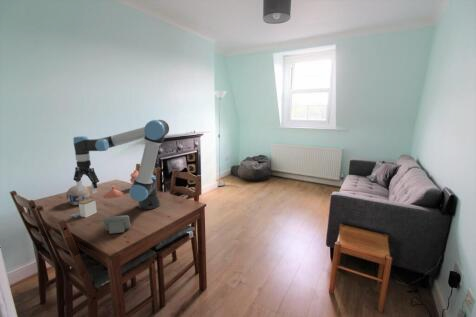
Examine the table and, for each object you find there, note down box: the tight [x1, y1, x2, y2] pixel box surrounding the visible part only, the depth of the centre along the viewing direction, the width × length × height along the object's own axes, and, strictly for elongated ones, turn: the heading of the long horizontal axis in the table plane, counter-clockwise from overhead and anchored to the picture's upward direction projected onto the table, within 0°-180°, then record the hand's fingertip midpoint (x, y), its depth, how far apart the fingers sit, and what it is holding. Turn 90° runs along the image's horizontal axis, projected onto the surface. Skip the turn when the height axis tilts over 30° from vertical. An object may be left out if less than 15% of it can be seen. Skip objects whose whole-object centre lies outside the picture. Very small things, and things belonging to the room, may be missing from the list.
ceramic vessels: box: [102, 169, 139, 199], centre depth 195 cm, size 35×21×19 cm, turn 137°
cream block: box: [78, 197, 98, 218], centre depth 157 cm, size 5×8×10 cm, turn 160°
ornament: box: [65, 184, 91, 206], centre depth 174 cm, size 15×15×15 cm
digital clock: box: [102, 215, 132, 234], centre depth 136 cm, size 14×8×9 cm, turn 92°
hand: (87, 191), depth 154 cm, fingers open, 13 cm apart
